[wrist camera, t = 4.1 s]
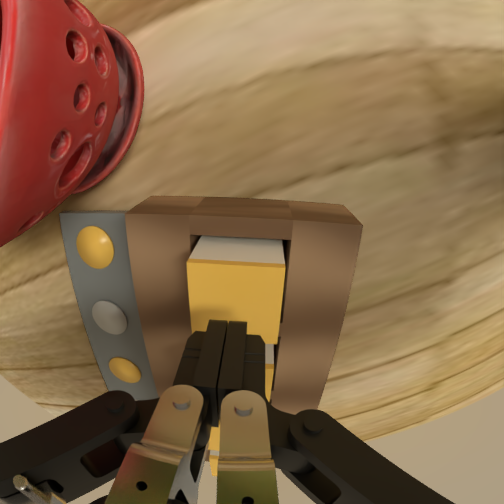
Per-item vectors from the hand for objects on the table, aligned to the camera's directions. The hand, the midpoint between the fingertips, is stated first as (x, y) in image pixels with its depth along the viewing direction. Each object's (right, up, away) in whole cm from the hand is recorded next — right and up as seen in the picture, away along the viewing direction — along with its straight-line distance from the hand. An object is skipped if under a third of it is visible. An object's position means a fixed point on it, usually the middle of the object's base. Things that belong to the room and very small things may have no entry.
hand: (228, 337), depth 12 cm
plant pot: (-11, +13, +4) cm, 18 cm away
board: (0, -5, +11) cm, 12 cm away
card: (-10, -4, +11) cm, 16 cm away
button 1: (0, +3, +5) cm, 6 cm away
